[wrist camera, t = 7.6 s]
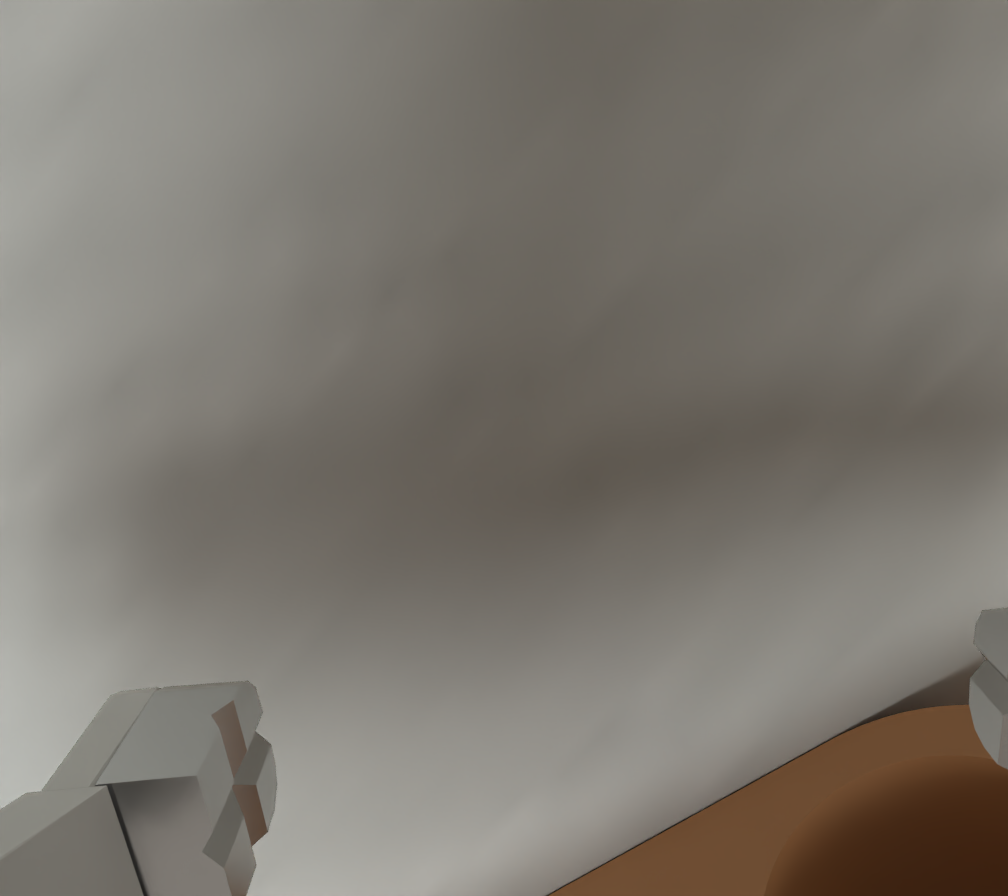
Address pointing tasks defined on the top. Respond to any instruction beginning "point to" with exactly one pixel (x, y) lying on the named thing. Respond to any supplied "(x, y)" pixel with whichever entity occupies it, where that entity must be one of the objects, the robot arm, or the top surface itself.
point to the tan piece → (841, 823)
